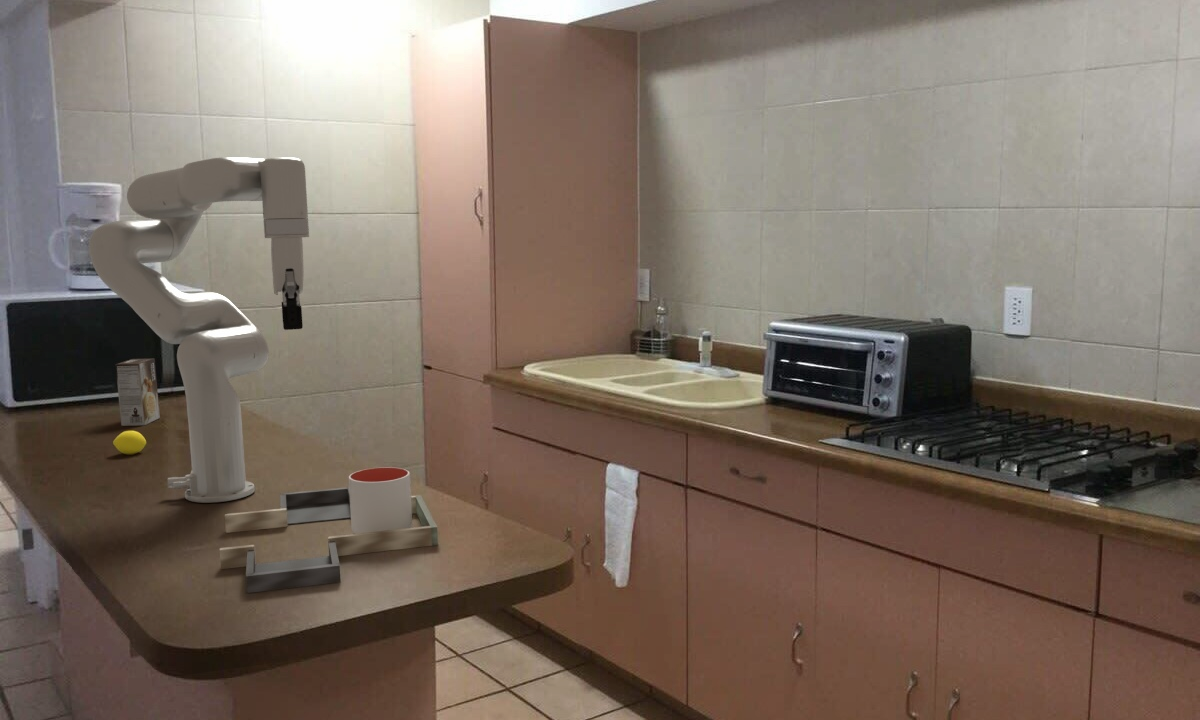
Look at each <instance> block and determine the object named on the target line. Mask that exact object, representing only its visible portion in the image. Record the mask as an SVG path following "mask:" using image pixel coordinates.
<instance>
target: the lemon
mask: <svg viewBox="0 0 1200 720" xmlns="http://www.w3.org/2000/svg"><path fill="white" fill-rule="evenodd" d="M112 444H113V446H114V447H115V448H116V450H118V452H120V453H122V454H124V455H135V454H138V453H141V451H142V450H143V449H144V448H145V446H146V445H147V440H146V439H145V437H144V436H143V434H141V433H140V432H139V431H136V430H125V431H123V432H121V433H120V434H119V435H117V436H116V437H115V439H114V440H113V441H112Z"/></svg>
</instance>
